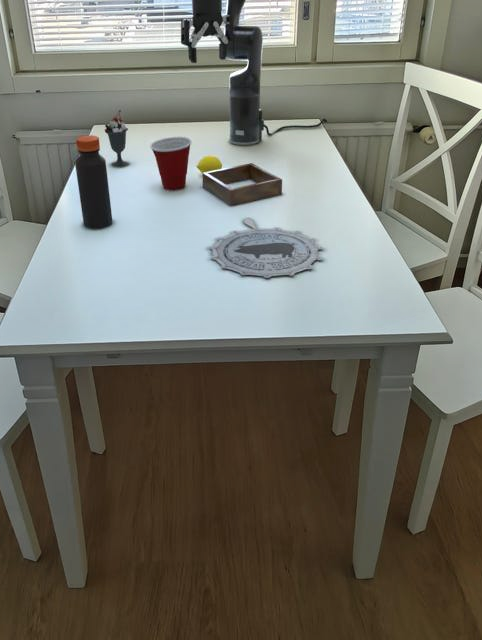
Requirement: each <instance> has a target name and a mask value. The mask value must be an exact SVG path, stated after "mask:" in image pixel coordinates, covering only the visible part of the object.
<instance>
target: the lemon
mask: <svg viewBox="0 0 482 640" xmlns="http://www.w3.org/2000/svg"><path fill="white" fill-rule="evenodd" d="M196 168H197V169H198V171H199V172H201V174H202V173H204V172H209V171H214V170H219V169H222V168H223V163H222V162H221V160H220V159H219V158H218V157H217V156H215V155H212V154H211V155H206V156H203V157H202V158H201V159H200V160H199V162H198V163H197V165H196Z"/></svg>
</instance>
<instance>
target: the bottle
mask: <svg viewBox="0 0 482 640" xmlns="http://www.w3.org/2000/svg"><path fill="white" fill-rule="evenodd" d="M75 143H76V148H77V152H78V153H79V156H77V158H76V160H75V161H74V166H75V173H76V180H77V187H78V193H79V201H80V208H81V215H82V222H83V223H82V224H83V226H84V227H86V228H87V229H91V230H100V229H101V230H102V229H105V228H108V227H110V226H111V225H112V224H113V214H112V204H111V195H110V188H109V178H108V169H107V162H106V158H105V157H103V155H101V154H100V150H101V145H100V137H99V136H98V135H93V134H91V135H89V134H88V135H82V136H79V137H77V138H76V139H75Z"/></svg>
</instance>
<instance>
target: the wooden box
mask: <svg viewBox="0 0 482 640" xmlns="http://www.w3.org/2000/svg"><path fill="white" fill-rule="evenodd" d="M201 174H202V188H203V189H204V190H206V191H208V192H209V193H211V194H212V195H213V196H215V197H217V198H218V199H219V200H221V201H222V202H224V203H225V204H227V205H228V206H230V207H232V206H237V205H241V204H246V203H250V202H254V201H259V200H264V199H267V198H272V197H276V196H280V195H283V179H282V178H281V177H279V176H277V175H275V174H273V173H271V172H269V171H267V170H266V169H264V168H262V167H261V166H258V165H256V164H255V163H252V162H250V163H245V164H240V165H235V166H230V167H224V168H221V169H219V170H214V171H209V172H204V173H202V172H201ZM247 180H251V181H253V182H255V183H251V184H247V185H242V186H237V187H233V188H232V187H230V186H229V185H228V184H233V183H237V182H243V181H247Z"/></svg>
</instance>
